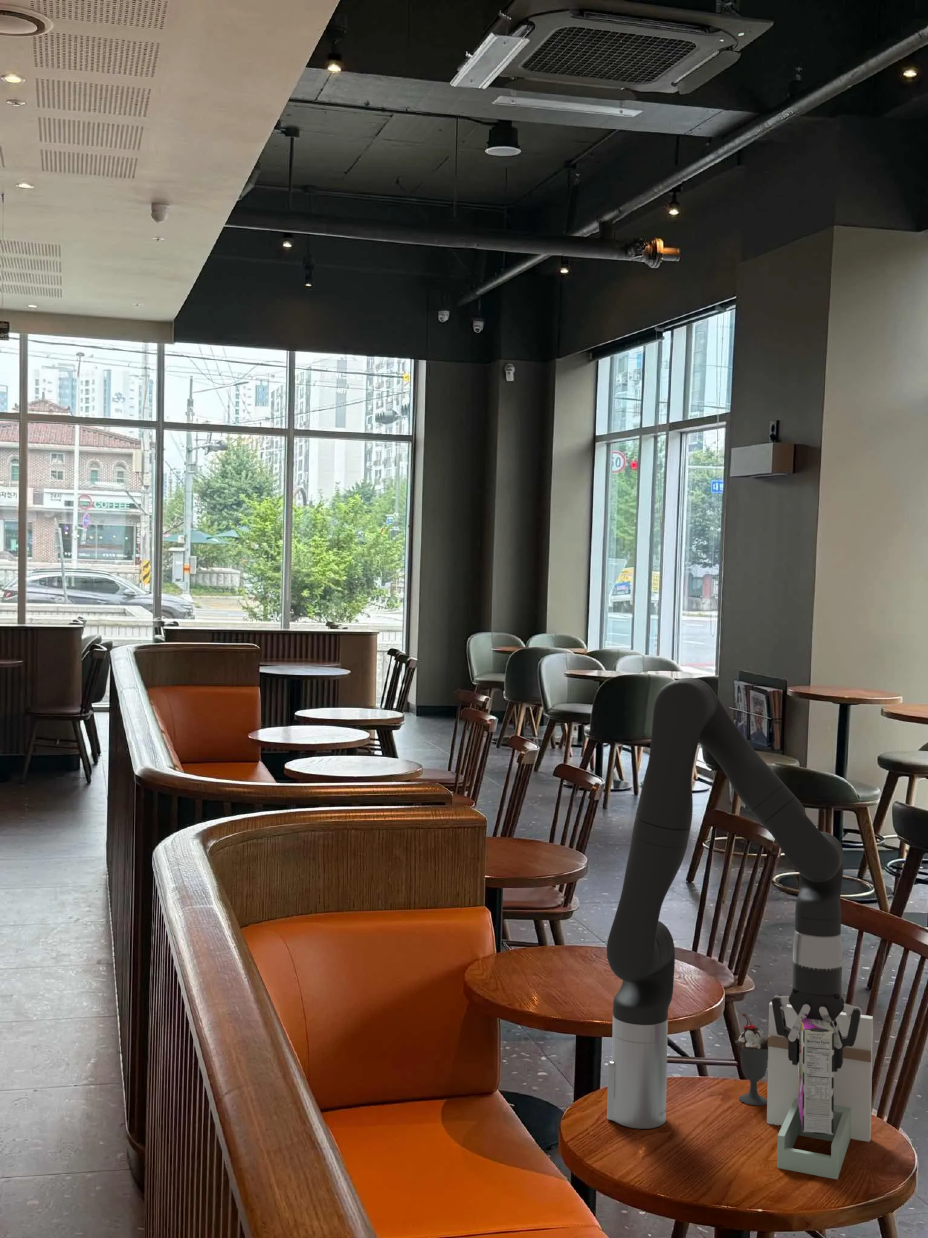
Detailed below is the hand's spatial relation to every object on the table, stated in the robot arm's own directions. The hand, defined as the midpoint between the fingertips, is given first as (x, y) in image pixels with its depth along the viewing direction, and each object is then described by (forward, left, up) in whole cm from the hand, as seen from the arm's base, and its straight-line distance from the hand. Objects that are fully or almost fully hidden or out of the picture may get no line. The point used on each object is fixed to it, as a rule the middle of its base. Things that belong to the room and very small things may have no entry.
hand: (815, 1066), depth 193 cm
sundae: (-13, +18, -14) cm, 26 cm away
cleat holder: (-1, +2, -14) cm, 14 cm away
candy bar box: (0, 0, -9) cm, 9 cm away
